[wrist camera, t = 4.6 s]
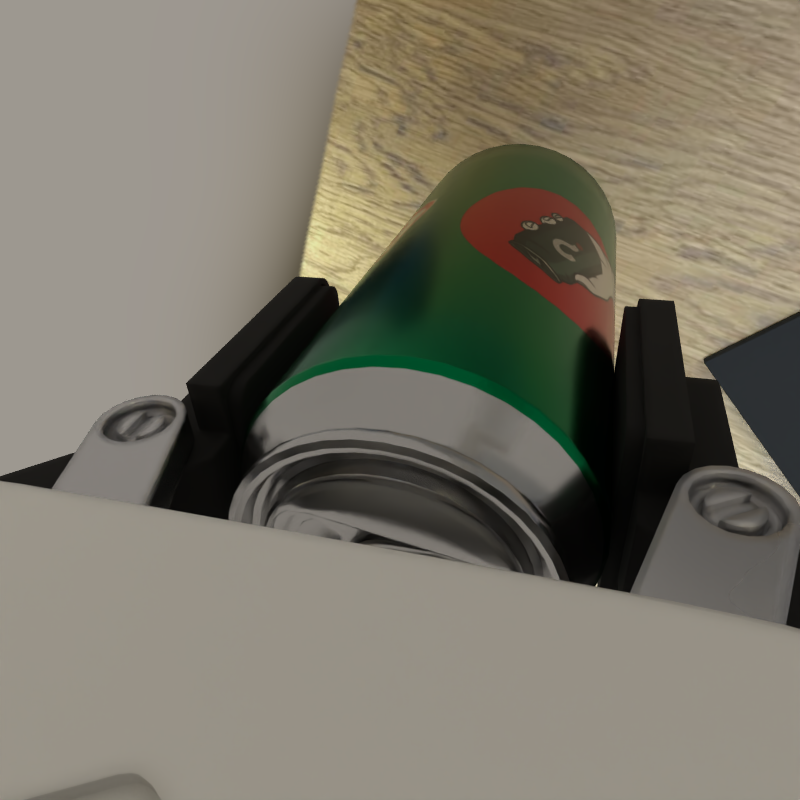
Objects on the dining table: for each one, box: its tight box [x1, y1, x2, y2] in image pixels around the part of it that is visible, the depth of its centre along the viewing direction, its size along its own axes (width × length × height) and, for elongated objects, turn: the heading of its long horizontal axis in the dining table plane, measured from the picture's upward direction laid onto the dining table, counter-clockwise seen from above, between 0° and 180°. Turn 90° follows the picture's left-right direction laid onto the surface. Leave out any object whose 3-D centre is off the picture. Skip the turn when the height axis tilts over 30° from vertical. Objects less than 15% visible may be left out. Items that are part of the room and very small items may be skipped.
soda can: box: [229, 144, 616, 586], centre depth 12 cm, size 5×5×12 cm
